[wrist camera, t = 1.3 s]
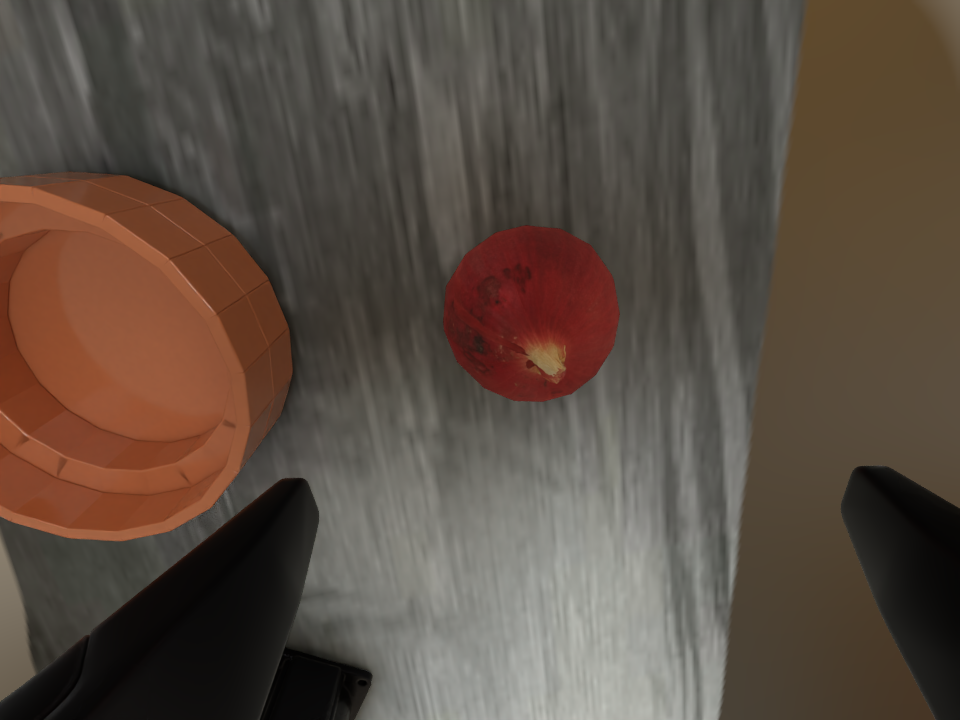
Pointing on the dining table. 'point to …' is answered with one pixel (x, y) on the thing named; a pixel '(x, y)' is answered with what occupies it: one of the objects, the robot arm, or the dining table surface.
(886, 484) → the robot arm
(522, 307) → the onion
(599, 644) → the dining table surface
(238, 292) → the bowl
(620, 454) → the dining table surface
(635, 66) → the dining table surface
